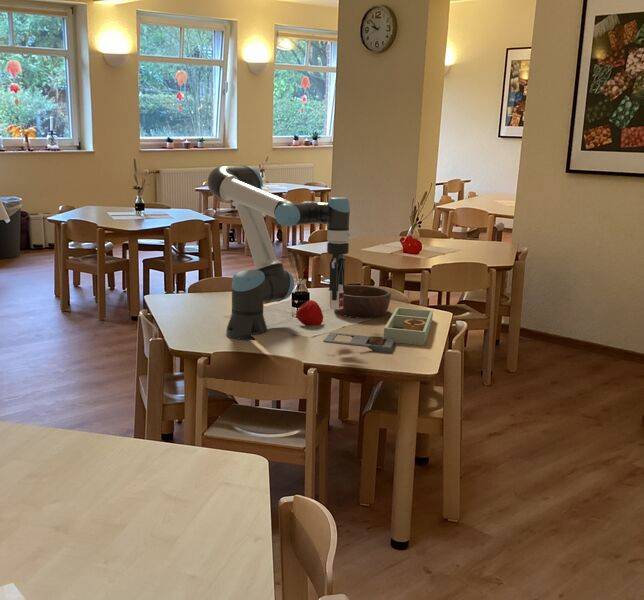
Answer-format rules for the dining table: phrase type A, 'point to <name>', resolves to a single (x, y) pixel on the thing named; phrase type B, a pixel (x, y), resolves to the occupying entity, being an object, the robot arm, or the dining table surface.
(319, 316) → the red rounded tapered piece
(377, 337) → the walnut block
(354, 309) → the wooden bowl
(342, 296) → the pill bottle
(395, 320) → the parts crate
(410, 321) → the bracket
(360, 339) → the grey slotted plate
